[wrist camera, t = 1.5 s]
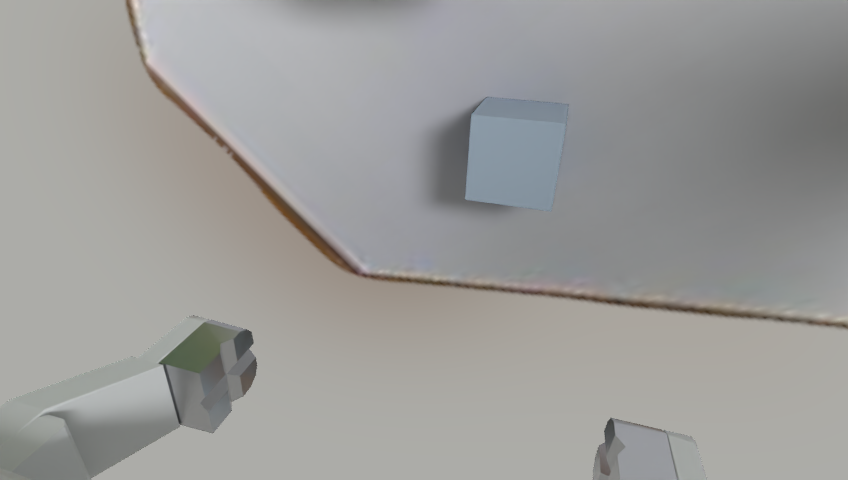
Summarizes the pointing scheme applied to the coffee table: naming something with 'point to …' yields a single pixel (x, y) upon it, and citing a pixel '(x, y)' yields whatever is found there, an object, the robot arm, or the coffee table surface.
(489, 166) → the slate cube
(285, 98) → the coffee table surface
